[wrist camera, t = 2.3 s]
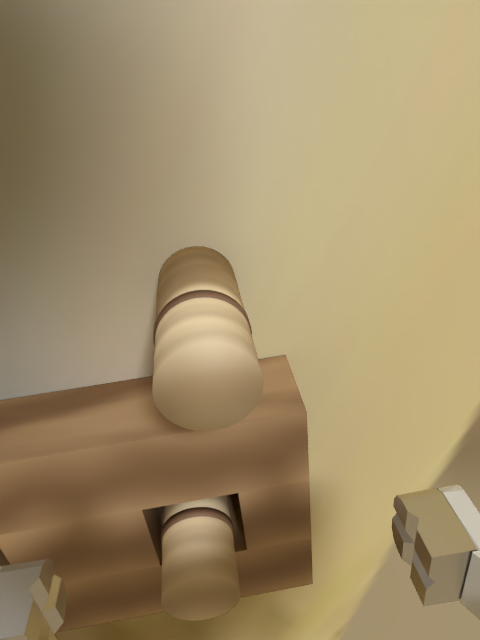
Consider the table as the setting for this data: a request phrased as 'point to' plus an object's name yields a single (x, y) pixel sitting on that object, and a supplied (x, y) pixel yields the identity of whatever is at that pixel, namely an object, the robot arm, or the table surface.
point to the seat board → (149, 490)
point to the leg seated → (198, 560)
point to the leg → (203, 344)
